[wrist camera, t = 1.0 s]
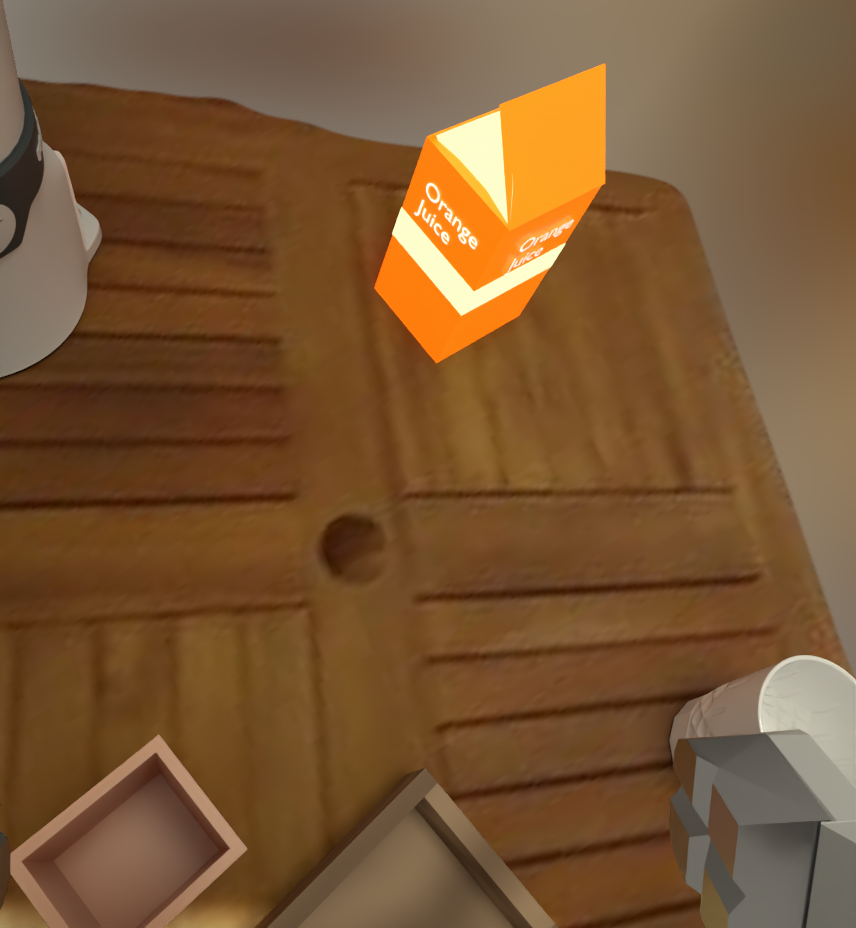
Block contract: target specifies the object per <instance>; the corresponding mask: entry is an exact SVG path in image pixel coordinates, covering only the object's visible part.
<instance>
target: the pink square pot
mask: <svg viewBox="0 0 856 928" xmlns="http://www.w3.org/2000/svg"><path fill="white" fill-rule="evenodd" d="M246 850H247V848H246V846H245V845H244V844H243V842H242V841H241V840H240V839H239V837H238V836H237V835H236V833H235V832H234V831H233V830H232V828H231V827H230V826H229V824H228V823H227V822H226V821H225V819H224V818H223V817H222V815H221V814H220V813H219V811H218V810H217V809H216V808H215V806H214V805H213V804H212V802H211V801H210V800H209V799H208V797H207V796H206V795H205V793H204V792H203V791H202V790H201V788H200V787H199V786H198V784H197V783H196V782H195V781H194V779H193V778H192V777H191V775H190V774H189V773H188V771H187V770H186V769H185V768H184V766H183V765H182V764H181V762H180V761H179V760H178V759H177V757H176V756H175V755H174V753H173V752H172V751H171V750H170V748H169V747H168V746H167V744H166V743H165V742H164V740H163V739H162V738H161V737H160V735H158V736H156V737H155V738H154V739H153V740H151V741H150V742H149V743H148V744H146V745H145V746H144V747H143V748H142V749H140V750H139V751H138V752H137V753H135V754H134V755H133V756H132V757H130V758H129V759H128V760H127V761H125V762H124V763H123V764H122V765H120V766H119V767H118V768H117V769H115V770H114V771H113V772H112V773H110V774H109V775H108V776H107V777H105V778H104V779H103V780H102V781H100V782H99V783H98V784H97V785H95V786H94V787H93V788H92V789H90V790H89V791H88V792H87V793H85V794H84V795H83V796H82V797H80V798H79V799H78V800H77V801H75V802H74V803H73V804H72V805H70V806H69V807H68V808H67V809H65V810H64V811H63V812H62V813H60V814H59V815H58V816H57V817H55V818H54V819H53V820H52V821H50V822H49V823H48V824H47V825H45V826H44V827H43V828H42V829H40V830H39V831H38V832H37V833H36V834H34V835H33V836H32V837H31V838H29V839H28V840H27V841H26V842H24V843H23V844H22V845H21V846H19V847H18V848H17V849H16V850H14V851H13V852H12V853H11V854H10V874H11V875H12V876H13V878H14V879H15V881H16V882H17V883H18V885H19V886H20V888H21V889H22V890H23V892H24V893H25V895H26V896H27V897H28V899H29V900H30V902H31V903H32V904H33V906H34V907H35V908H36V910H37V911H38V913H39V914H40V915H41V917H42V918H43V920H44V921H45V922H46V924H47V925H48V927H49V928H164V927H165V926H166V925H167V924H168V923H169V922H171V921H172V920H173V919H174V918H175V917H176V916H177V915H178V914H179V913H180V912H181V911H182V910H183V909H184V908H185V907H187V906H188V905H189V904H190V903H191V902H192V901H193V900H194V899H195V898H196V897H197V896H198V895H199V894H200V893H201V892H203V891H204V890H205V889H206V888H207V887H208V886H209V885H210V884H211V883H212V882H213V881H214V880H215V879H216V878H217V877H219V876H220V875H221V874H222V873H223V872H224V871H225V870H226V869H227V868H228V867H229V866H230V865H231V864H232V863H233V862H235V861H236V860H237V859H238V858H239V857H240V856H241V855H242V854H243V853H244V852H245V851H246Z"/></svg>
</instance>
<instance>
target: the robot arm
mask: <svg viewBox="0 0 856 928" xmlns="http://www.w3.org/2000/svg"><path fill="white" fill-rule="evenodd" d="M101 239H102V232H101V228H100V225H99V222H98V220H97V219H96V218H95V217H94V216H93V215H92V214H91V213H89V212H88V211H87V210H86V209H84V208H83V207H82V206H80V205H79V204H78V203H77V202H76V200H75V196H74V192H73V189H72V185H71V181H70V177H69V173H68V170H67V166H66V163H65V160H64V158H63V156H62V155H61V153H60V152H58V151H53V150H52V149H51V148H50V147H49V146H48V145H47V144H46V143H45V142H44V141H42V135H41V130H40V126H39V123H38V118H37V117H36V113H35V110H34V109H33V106H32V103H31V99H30V97H29V95H28V92H27V90H26V88H25V87H24V85H23V84H22V82H21V80H20V79H19V78H18V75H17V70H16V66H15V60H14V55H13V50H12V45H11V40H10V35H9V30H8V25H7V20H6V15H5V10H4V5H3V0H0V377H3V376H6V375H9V374H12V373H15V372H17V371H20V370H22V369H25V368H27V367H29V366H31V365H33V364H35V363H36V362H38V361H40V360H41V359H43V358H44V357H46V356H47V355H49V354H50V353H51V352H53V351H54V350H55V349H56V348H57V347H59V346H60V345H61V344H62V343H63V342H64V341H65V339H66V338H67V337H68V336H69V335H70V333H71V332H72V331H73V329H74V328H75V326H76V325H77V323H78V321H79V319H80V317H81V315H82V312H83V310H84V306H85V302H86V297H87V270H88V265H89V262H90V261H91V259H92V258H93V256H94V254H95V252H96V251H97V249H98V247H99V245H100V242H101ZM673 770H674V771H675V773H676V775H677V777H678V779H679V781H680V783H681V785H682V786H681V787H680V788H679V789H678V791H677V792H676V793H675V794H674V795H673V797H672V798H671V799H670V817H669V825H670V833H671V840H672V848H673V851H674V854H675V858H676V861H677V864H678V867H679V869H680V871H681V874H682V876H683V878H684V880H685V883H687V884H688V885H689V886H691V887H692V888H694V889H695V890H696V891H698V892H699V893H701V894H702V898H701V910H700V915H701V917H702V919H703V921H704V923H705V925H706V928H856V789H855V788H854V786H853V785H852V784H851V783H850V782H849V781H848V779H847V778H846V777H845V776H844V775H843V774H842V772H841V771H840V770H839V769H838V768H837V767H836V765H835V764H834V763H833V762H832V761H831V760H830V758H829V757H828V756H827V755H826V754H825V753H824V751H823V750H822V749H821V748H820V747H819V746H818V744H817V743H816V742H815V741H814V740H813V739H812V737H811V736H810V735H809V734H808V733H806V732H804V731H802V730H800V729H796V730H784V731H772V732H760V733H759V734H749V735H733V736H717V737H701V738H685V739H678V741H677V744H676V747H675V750H674V759H673ZM0 805H1V804H0ZM9 879H10V850H9V844H8V839H7V836H6V835H5V834H3V833H2V832H1V831H0V909H1V907H2V905H3V902H4V898H5V894H6V891H7V887H8V883H9Z"/></svg>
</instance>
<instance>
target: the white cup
mask: <svg viewBox="0 0 856 928" xmlns="http://www.w3.org/2000/svg"><path fill="white" fill-rule="evenodd" d="M796 729H800V730H802V731H804V732H806V733H808V734H809V735H810V736H811V737H812V739H813V740H814V741H815V742H816V743H817V744H818V746H819V747H820V748H821V749H822V750H823V751H824V753H825V754H826V755H827V756H828V757H829V758H830V760H831V761H832V762H833V763H834V764H835V765H836V767H837V768H838V769H839V770H840V771H841V772H842V774H843V775H844V776H845V777H846V778H847V779H848V781H849V782H850V783H851V784H852V785H853V786H854V788H855V789H856V680H855V679H854V678H853V677H852V676H851V675H850V674H849V673H848V672H846V671H845V670H844V669H842V668H841V667H839V666H838V665H836V664H834V663H832V662H830V661H828V660H826V659H823V658H820V657H816V656H809V655H800V656H794V657H790V658H787V659H785V660H783V661H780V662H778V663H775V664H773V665H770V666H768V667H765V668H763V669H760V670H758V671H755V672H753V673H750V674H748V675H745V676H743V677H740V678H738V679H735V680H733V681H731V682H729V683H727V684H724V685H722V686H720V687H718V688H716V689H714V690H713V691H711V692H710V693H708V694H706V695H703V696H701V697H698V698H696V699H693V700H690V701H688V702H687V703H686V704H685V705H684V707H683V708H682V709H681V710H680V711H679V712H678V714H677V715H676V716H675V717H674V721H673V725H672V730H671V734H670V739H669V742H670V747H671V753H672V759H674V750H675V747H676V744H677V741H678V739H685V738H701V737H717V736H733V735H749V734H759V733H760V732H772V731H784V730H796Z"/></svg>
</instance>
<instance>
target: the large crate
mask: <svg viewBox="0 0 856 928" xmlns="http://www.w3.org/2000/svg"><path fill="white" fill-rule="evenodd" d="M255 928H558V927H557V926H556V924H555V923H554V922H553V921H552V920H551V918H550V917H549V916H548V915H547V914H546V912H545V911H544V910H543V909H542V908H541V906H540V905H539V904H538V903H537V902H536V900H535V899H534V898H533V897H532V896H531V894H530V893H529V892H528V891H527V890H526V888H525V887H524V886H523V885H522V884H521V882H520V881H519V880H518V879H517V878H516V876H515V875H514V874H513V873H512V872H511V870H510V869H509V868H508V867H507V866H506V864H505V863H504V862H503V861H502V860H501V858H500V857H499V856H498V855H497V854H496V852H495V851H494V850H493V849H492V848H491V846H490V845H489V844H488V843H487V842H486V840H485V839H484V838H483V837H482V836H481V834H480V833H479V832H478V831H477V830H476V828H475V827H474V826H473V825H472V824H471V822H470V821H469V820H468V819H467V818H466V816H465V815H464V814H463V813H462V812H461V810H460V809H459V808H458V807H457V806H456V804H455V803H454V802H453V801H452V800H451V798H450V797H449V796H448V795H447V794H446V792H445V791H444V790H443V789H442V788H441V786H440V785H439V784H438V783H437V782H436V780H435V779H434V778H433V777H432V776H431V774H430V773H429V772H428V771H427V770H426V768H424V769H421V770H418V771H415V772H412V773H410V774H407V775H406V776H405V777H404V778H403V779H402V780H401V781H400V782H399V783H398V784H397V785H396V786H395V787H394V788H393V789H392V790H391V791H390V792H389V793H388V794H387V795H386V796H385V797H384V799H383V800H382V801H381V802H380V803H379V804H378V805H377V806H376V807H375V808H374V809H373V810H372V811H371V812H370V813H369V814H368V815H367V816H366V817H365V818H364V819H363V820H362V821H361V822H360V823H359V824H358V825H357V826H356V827H355V828H354V829H353V830H352V831H351V832H350V833H349V834H348V835H347V836H346V837H345V838H344V839H343V840H342V841H341V842H340V843H339V844H338V845H337V846H336V847H335V848H334V849H333V850H332V851H331V852H330V853H329V854H328V855H327V856H326V857H325V858H324V859H323V860H322V861H321V862H320V863H319V864H318V865H317V866H316V867H315V868H314V869H313V870H312V871H311V872H310V873H309V874H308V875H307V876H306V877H305V878H304V879H303V880H302V881H301V882H300V883H299V884H298V885H297V886H296V887H295V888H294V889H293V890H292V891H291V892H290V893H289V894H288V895H287V896H286V897H285V898H284V899H283V900H282V901H281V902H280V903H279V904H278V905H277V906H276V907H275V908H274V909H273V910H272V911H271V912H270V913H269V914H268V915H267V916H266V917H265V918H264V919H263V920H262V921H261V922H260V923H259V924H258V925H257V926H256V927H255Z"/></svg>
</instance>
